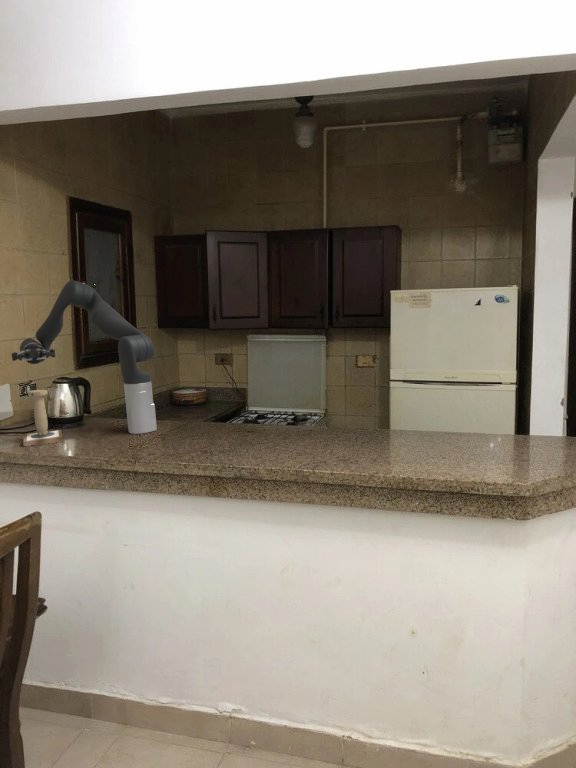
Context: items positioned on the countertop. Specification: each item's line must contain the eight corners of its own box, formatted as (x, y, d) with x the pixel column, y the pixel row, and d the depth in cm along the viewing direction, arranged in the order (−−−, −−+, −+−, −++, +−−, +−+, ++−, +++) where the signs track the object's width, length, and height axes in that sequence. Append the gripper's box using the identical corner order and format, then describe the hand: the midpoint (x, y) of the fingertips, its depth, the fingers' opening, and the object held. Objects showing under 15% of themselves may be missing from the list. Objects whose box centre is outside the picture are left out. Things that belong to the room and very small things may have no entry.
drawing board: (61, 434, 209) (61, 429, 208) (62, 441, 198) (62, 436, 197) (24, 439, 204) (24, 433, 204) (23, 446, 193) (22, 441, 193)
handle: (44, 437, 197) (39, 392, 195) (30, 436, 200) (24, 392, 198) (55, 433, 202) (50, 390, 199) (41, 432, 204) (36, 389, 202)
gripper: (11, 344, 218) (9, 347, 203) (53, 341, 224) (54, 343, 209) (14, 364, 219) (12, 369, 204) (55, 361, 225) (56, 364, 210)
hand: (33, 356), depth 207 cm, fingers open, 8 cm apart
